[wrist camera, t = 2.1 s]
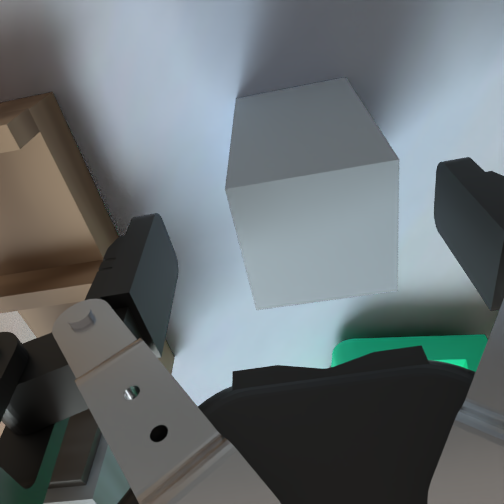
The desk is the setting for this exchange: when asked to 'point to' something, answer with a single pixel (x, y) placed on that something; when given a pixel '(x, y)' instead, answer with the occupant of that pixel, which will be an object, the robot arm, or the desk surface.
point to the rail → (55, 267)
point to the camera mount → (435, 347)
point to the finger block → (313, 195)
